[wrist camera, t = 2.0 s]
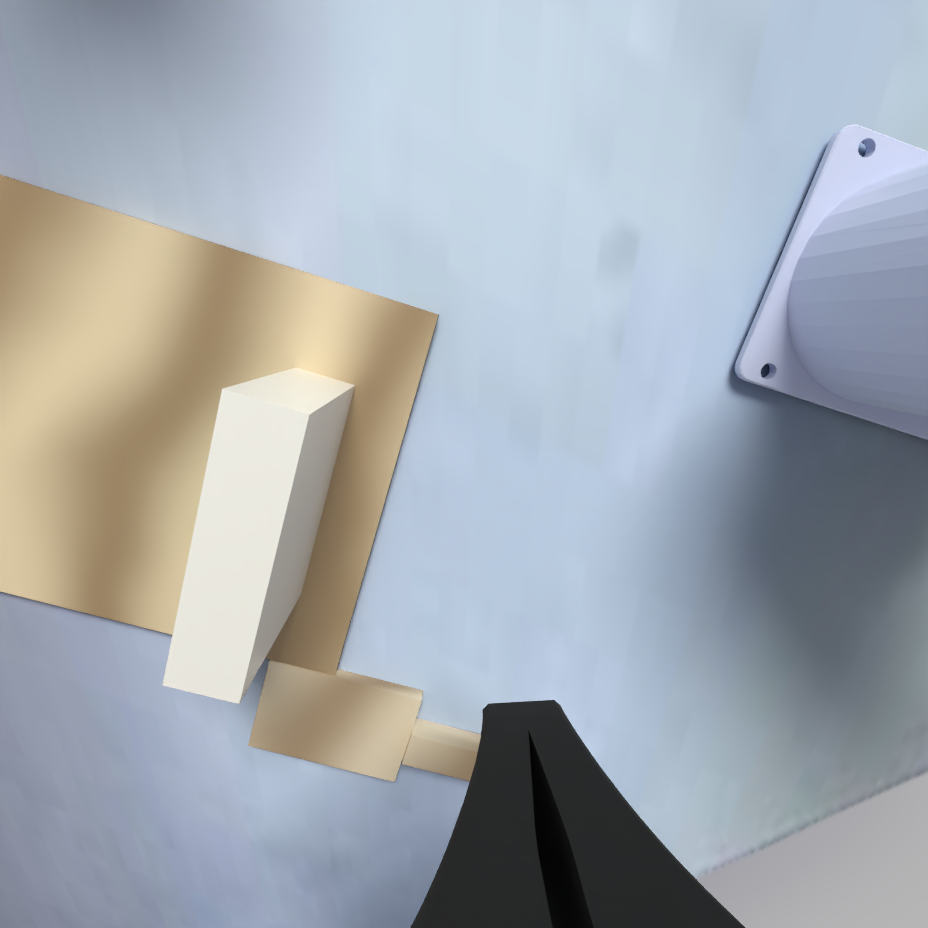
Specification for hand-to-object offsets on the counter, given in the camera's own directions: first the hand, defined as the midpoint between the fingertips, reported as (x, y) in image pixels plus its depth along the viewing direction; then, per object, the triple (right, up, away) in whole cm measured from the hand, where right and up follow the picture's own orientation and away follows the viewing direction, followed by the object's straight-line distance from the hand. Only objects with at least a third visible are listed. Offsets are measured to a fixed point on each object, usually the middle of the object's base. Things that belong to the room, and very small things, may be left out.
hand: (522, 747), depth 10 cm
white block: (-7, +4, +9) cm, 12 cm away
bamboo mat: (-12, +6, +9) cm, 16 cm away
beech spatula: (-3, -6, +12) cm, 14 cm away
